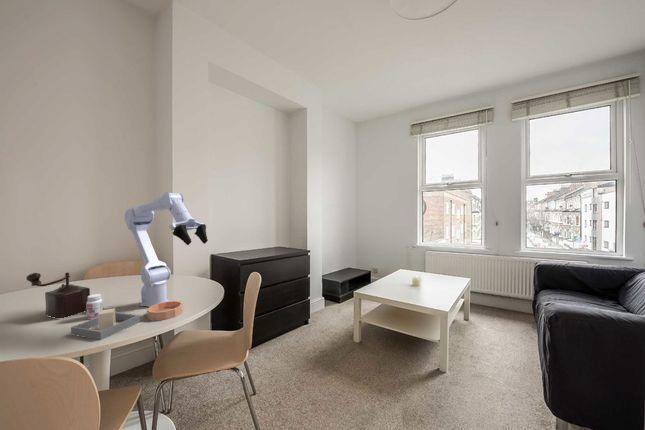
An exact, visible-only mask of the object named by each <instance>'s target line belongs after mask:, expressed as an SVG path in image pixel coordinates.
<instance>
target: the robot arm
mask: <svg viewBox="0 0 645 430" xmlns="http://www.w3.org/2000/svg"><path fill="white" fill-rule="evenodd" d="M165 210H168V211H169V212H170V214H171V216H172V217H173V218H174V221H175V222H171V223H170V225H169V226H168V227H169V229H170V230H171V231H172V235H173V236H175V237H177V238H178V239H180V240H181V241H182V242H183V243H185V245H186V246H189V245H190V244H191V243H192V239H191V237H190V235H189V232H188V231H190V230H191V231H192V230H194V229H195V232H194V233H193V234H194V235H195V236H196V237H197V238H198V239H199V240H200V241H201V243H202V244H204V245H205V244H206V243H207V242H208V241H209V239H208V236H207V225H206V224H205V223H204V222H199V221H198V220H196V218H194V217H192V215H191V214H190V212H189V210H188V209H187V207H186V206H185V203H184V196H183V195H182V193H178V192H165V193H163V194H161V195H160V194H159V195H157V197H155V198H154V199H153V200H152V202H149V203H144V204H141V205H137V206H132V207H131V208H127V209H126V211H125V213H124V221H125V224H126V226H127V228H128V230H130V231H131V233H132V236H133V238H134V240H135V243H136V245H137V248H138V251H139V253H140V255H141V257H142V260H143V264H144V265H143V267H141V269H140V273H139V274H140V276H141V282H142V283H143V286H142V287H141V291H140V296H141V299H140V301H141V303H140V304H139V307H141V306H142V307H148V308H149V307H150V306H153V305H155V304H158V303H162V302H166V301H173V300H172V299H167V298H168V295H167V294H168V293H167V283H168V282H169V280H170V279H171V275H172V271H171V269H170V268H169V266H167V264H166V262H164V261H161V260H159V258H158V256H157V253H156V251H155V249H154V246H153V245H152V242H151V239H150V236H149V234H148V232H147V231H148V230H149V229H150V228H151V226H152V224H153V221H154V220H155V219H154V218H155V211H159V212H161V211H165Z"/></svg>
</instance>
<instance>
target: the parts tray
mask: <svg viewBox="0 0 645 430" xmlns="http://www.w3.org/2000/svg"><path fill="white" fill-rule="evenodd" d="M115 320H117V321H121V322H119V323H116V325H114V326H111V327H109V328H107V329H104V330H102V331H100V330H99V329H93V327H97V326H99V324H98V317H97V318H95V319H88V320H87V321H83V322H82V323H79V324H77V325H74V326H71V327H70V334H74V335H73V336H75V335H79V336H78V337H81V336H84V337H83V338H87V337H88V338H89V339H94V340H95V339H96V340H104V339H105V338H106V339H107V337H111V336H112V335H115V334H117V333H118V332H121V331H123V330H126V329H127V328H130V327H132V326H134V325H136V324H138V323H141V314H135V313H134V314H133V313H127V312H126V313H125V312H119V311H115ZM96 325H97V326H96ZM91 327H92V328H91ZM88 338H87V339H88Z"/></svg>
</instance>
